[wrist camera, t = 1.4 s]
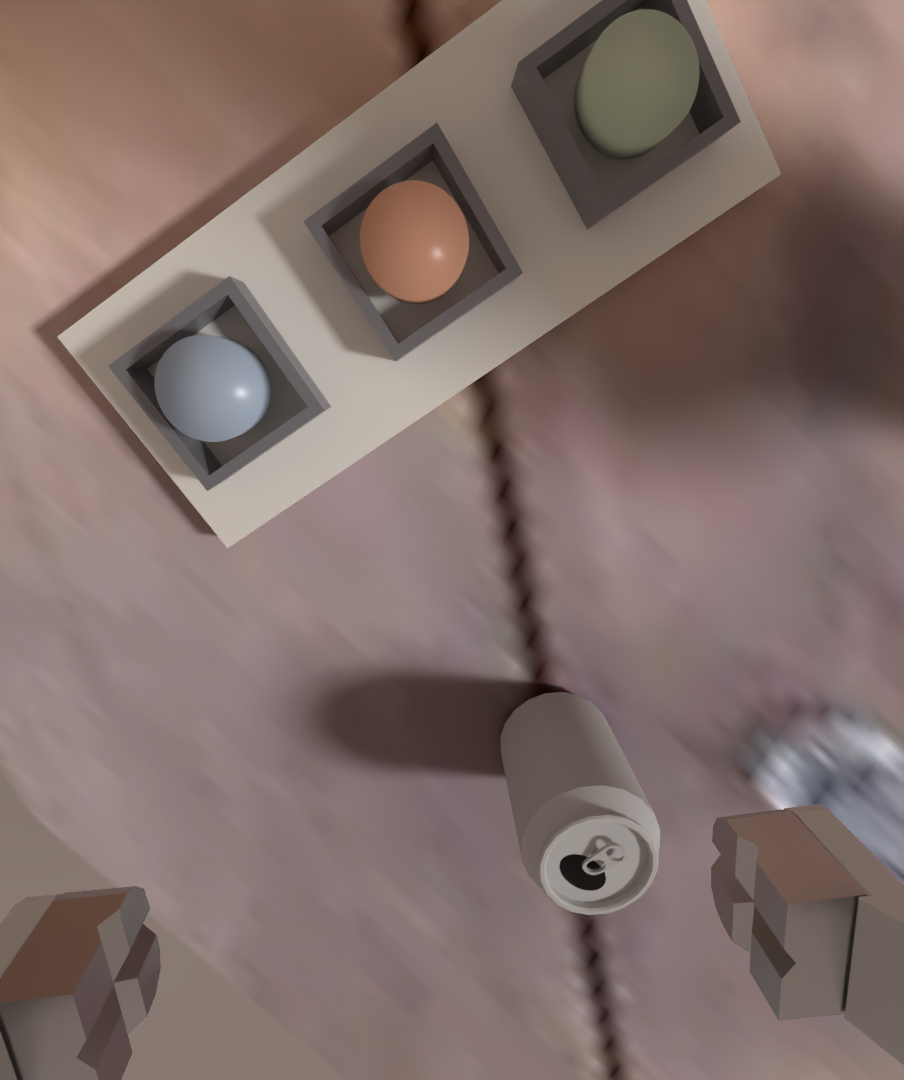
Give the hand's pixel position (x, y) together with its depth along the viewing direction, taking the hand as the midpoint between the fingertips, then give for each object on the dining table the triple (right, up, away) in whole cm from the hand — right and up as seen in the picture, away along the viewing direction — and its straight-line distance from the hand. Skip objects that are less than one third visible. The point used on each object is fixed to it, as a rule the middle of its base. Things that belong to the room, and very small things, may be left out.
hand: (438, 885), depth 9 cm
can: (+7, -8, +34) cm, 36 cm away
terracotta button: (-2, +19, +21) cm, 29 cm away
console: (-2, +20, +25) cm, 32 cm away
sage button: (+8, +26, +20) cm, 34 cm away
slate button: (-12, +13, +23) cm, 29 cm away
